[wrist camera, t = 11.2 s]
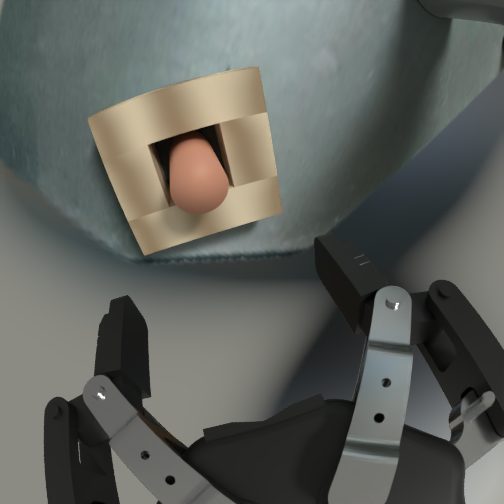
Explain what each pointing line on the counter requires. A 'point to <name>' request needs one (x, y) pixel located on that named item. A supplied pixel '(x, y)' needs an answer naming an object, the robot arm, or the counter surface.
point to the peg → (196, 174)
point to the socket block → (177, 122)
